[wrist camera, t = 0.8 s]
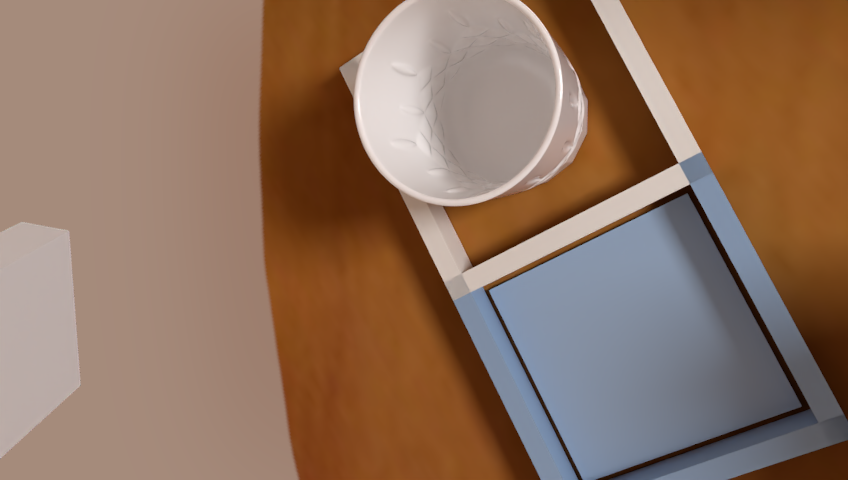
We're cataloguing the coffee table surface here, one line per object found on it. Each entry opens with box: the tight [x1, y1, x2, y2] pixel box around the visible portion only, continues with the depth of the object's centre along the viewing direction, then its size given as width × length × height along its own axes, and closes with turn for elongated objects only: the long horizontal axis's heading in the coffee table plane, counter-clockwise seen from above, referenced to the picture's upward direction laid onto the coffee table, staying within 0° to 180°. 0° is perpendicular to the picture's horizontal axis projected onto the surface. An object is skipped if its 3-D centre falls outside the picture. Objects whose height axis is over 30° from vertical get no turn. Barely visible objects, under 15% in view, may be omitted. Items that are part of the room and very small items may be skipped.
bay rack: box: [339, 0, 848, 480], centre depth 33 cm, size 13×25×2 cm, turn 29°
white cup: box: [354, 0, 588, 206], centre depth 30 cm, size 8×8×10 cm
